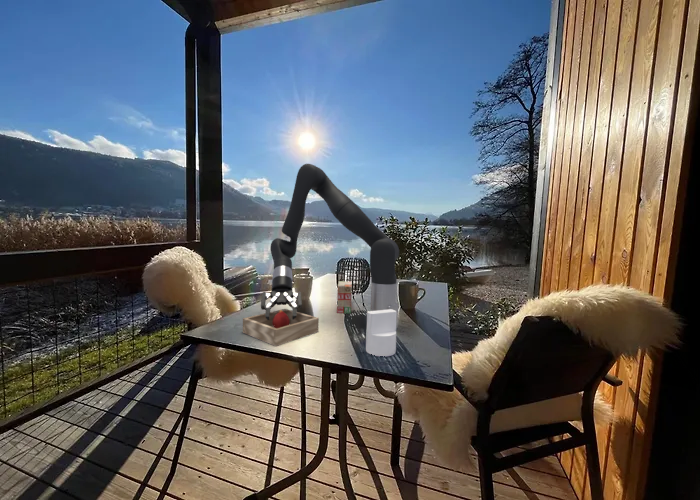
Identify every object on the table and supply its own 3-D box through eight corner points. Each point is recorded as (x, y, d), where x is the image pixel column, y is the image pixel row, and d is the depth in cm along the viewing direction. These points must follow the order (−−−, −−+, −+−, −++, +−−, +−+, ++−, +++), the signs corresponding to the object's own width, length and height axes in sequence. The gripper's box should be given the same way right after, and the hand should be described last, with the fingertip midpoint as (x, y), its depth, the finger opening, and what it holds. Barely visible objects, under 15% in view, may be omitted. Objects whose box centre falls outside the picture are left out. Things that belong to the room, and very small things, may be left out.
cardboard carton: (339, 302, 154) (339, 278, 153) (351, 302, 154) (351, 278, 153) (336, 313, 132) (337, 285, 132) (351, 313, 132) (351, 285, 131)
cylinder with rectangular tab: (374, 358, 86) (375, 316, 85) (360, 347, 94) (361, 309, 93) (401, 354, 89) (402, 314, 89) (386, 343, 98) (387, 306, 97)
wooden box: (318, 331, 107) (318, 317, 107) (275, 346, 93) (276, 330, 93) (285, 321, 119) (285, 308, 118) (242, 332, 104) (242, 318, 104)
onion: (283, 328, 110) (283, 306, 109) (292, 332, 106) (292, 309, 105) (269, 331, 106) (269, 309, 105) (278, 336, 102) (278, 312, 101)
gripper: (262, 274, 111) (258, 314, 101) (301, 274, 114) (302, 312, 103) (263, 286, 117) (260, 324, 106) (301, 286, 119) (301, 323, 109)
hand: (281, 318), depth 105 cm, fingers open, 8 cm apart
